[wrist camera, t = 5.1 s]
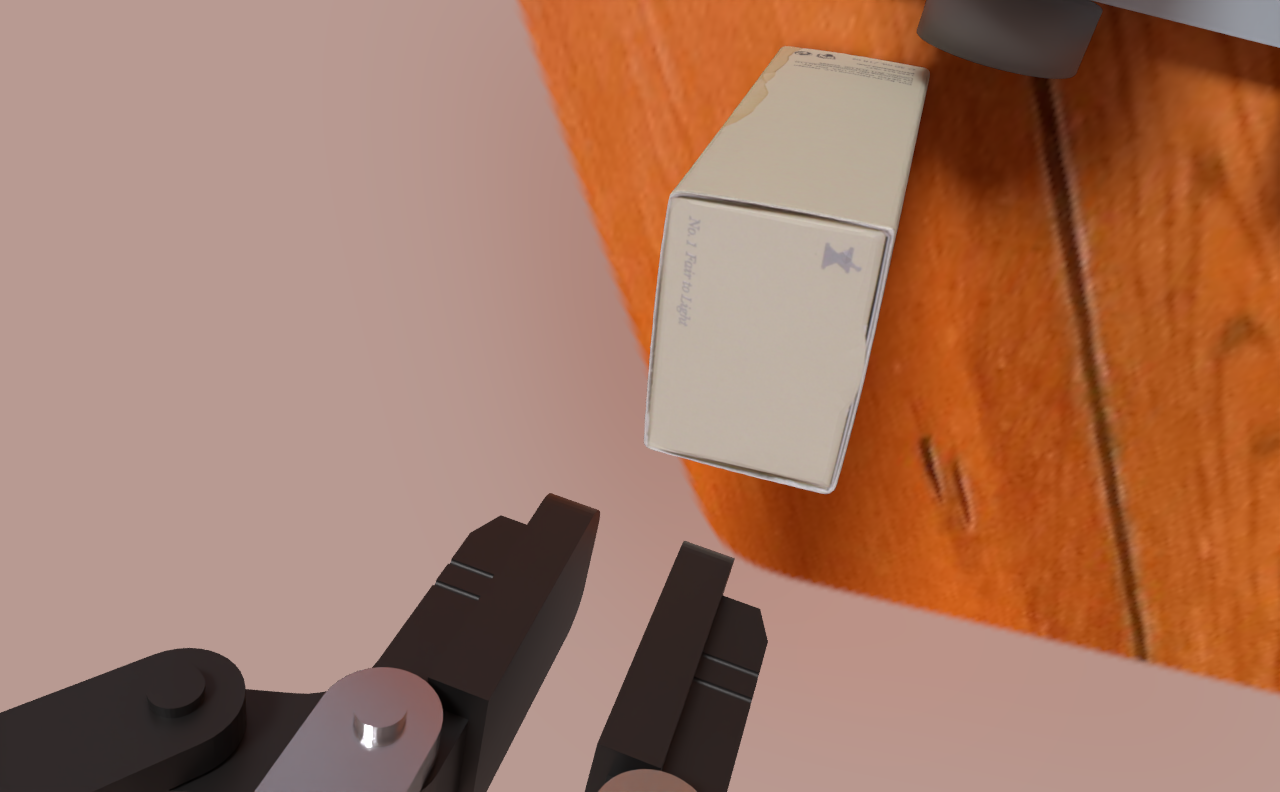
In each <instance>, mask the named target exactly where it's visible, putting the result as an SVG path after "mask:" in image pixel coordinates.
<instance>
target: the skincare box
mask: <svg viewBox="0 0 1280 792" xmlns="http://www.w3.org/2000/svg"><path fill="white" fill-rule="evenodd" d="M929 78H930V72H929V70H928V69H926V68H924V67H917V66H912V65H907V64H901V63H896V62H890V61H884V60H879V59H873V58H867V57H861V56H854V55H849V54H843V53H836V52H829V51H822V50H814V49H805V48H798V47H790V46H784V47H782V48H781V49H780V50H779V51H778V53H777V54H776V55H775V57H774V58H773V59H772V61H771V62H770V63H769V65H768V66H767V68H766V69H765V70H764V71H763V73H762V74H761V76H760V77H759V78H758V80H757V81H756V82H755V84H754V85H753V86H752V88H751V89H750V91H749V92H748V93H747V95H746V96H745V97H744V99H743V100H742V101H741V103H740V104H739V105H738V106H737V108H736V109H735V110H734V112H733V113H732V115H731V116H730V117H729V118H728V120H727V121H726V122H725V124H724V125H723V127H722V128H721V129H720V131H719V132H718V133H717V134H716V136H715V137H714V138H713V140H712V141H711V142H710V144H709V145H708V146H707V147H706V149H705V150H704V151H703V153H702V154H701V156H700V157H699V158H698V159H697V161H696V162H695V163H694V165H693V166H692V167H691V169H690V170H689V172H688V173H687V174H686V175H685V176H684V178H683V179H682V180H681V181H680V183H679V184H678V185H677V187H676V188H675V189H674V190H673V191H672V193H671V194H670V197H669V202H668V207H667V213H666V219H665V225H664V234H663V239H662V245H661V254H660V263H659V270H658V279H657V288H656V297H655V306H654V316H653V328H652V339H651V347H650V361H649V374H648V385H647V401H646V413H645V433H644V444H645V446H646V447H647V448H649V449H652V450H654V451H659V452H662V453H666V454H669V455H673V456H677V457H681V458H685V459H689V460H692V461H695V462H699V463H703V464H707V465H711V466H714V467H718V468H722V469H726V470H729V471H733V472H737V473H742V474H745V475H749V476H752V477H756V478H760V479H764V480H768V481H772V482H777V483H781V484H785V485H789V486H793V487H796V488H800V489H804V490H808V491H813V492H817V493H821V494H828V493H831V492H832V491H834V490H835V488H836V485H837V483H838V479H839V476H840V472H841V468H842V465H843V461H844V458H845V454H846V450H847V446H848V442H849V439H850V435H851V431H852V427H853V423H854V420H855V416H856V412H857V408H858V404H859V400H860V396H861V392H862V388H863V384H864V380H865V375H866V371H867V366H868V362H869V357H870V353H871V348H872V344H873V340H874V335H875V331H876V326H877V322H878V317H879V312H880V308H881V303H882V298H883V294H884V289H885V285H886V280H887V276H888V271H889V267H890V262H891V257H892V253H893V248H894V243H895V239H896V234H897V230H898V225H899V221H900V216H901V211H902V206H903V201H904V197H905V192H906V187H907V182H908V177H909V173H910V168H911V163H912V158H913V153H914V149H915V144H916V139H917V135H918V130H919V125H920V120H921V115H922V110H923V106H924V101H925V97H926V92H927V87H928V83H929Z"/></svg>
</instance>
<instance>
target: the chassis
mask: <svg viewBox="0 0 1280 792" xmlns="http://www.w3.org/2000/svg"><path fill="white" fill-rule="evenodd" d="M1092 1H1096V2H1100V3H1104V4H1107V5H1111V6H1115V7H1119V8H1123V9H1127V10H1131V11H1135V12H1139V13H1143V14H1147V15H1151V16H1155V17H1159V18H1163V19H1167V20H1171V21H1175V22H1179V23H1183V24H1187V25H1191V26H1195V27H1199V28H1203V29H1207V30H1211V31H1215V32H1219V33H1223V34H1227V35H1231V36H1235V37H1239V38H1243V39H1247V40H1251V41H1255V42H1259V43H1263V44H1267V45H1271V46H1275V47H1278V48H1280V0H1092ZM1092 1H1090V0H926V3H925V6H924V10H923V13H922V16H921V19H920V22H919V25H918V28H917V34H918V35H919V36H920V37H921V38H922V39H923V40H924V41H926V42H928V43H929V44H931V45H933V46H935V47H937V48H939V49H941V50H943V51H945V52H948V53H950V54H952V55H955V56H958V57H960V58H963V59H966V60H969V61H972V62H975V63H978V64H981V65H985V66H988V67H992V68H995V69H999V70H1003V71H1007V72H1012V73H1016V74H1022V75H1027V76H1033V77H1041V78H1051V79H1065V78H1071V77H1073V76H1075V75H1076V73H1077V70H1078V68H1079V66H1080V63H1081V61H1082V59H1083V56H1084V54H1085V51H1086V49H1087V47H1088V44H1089V42H1090V40H1091V37H1092V35H1093V33H1094V30H1095V28H1096V25H1097V23H1098V21H1099V18H1100V16H1101V14H1102V8H1101V7H1100V6H1099V5H1097V4H1095V3H1094V2H1092Z"/></svg>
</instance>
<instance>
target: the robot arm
mask: <svg viewBox="0 0 1280 792" xmlns="http://www.w3.org/2000/svg"><path fill="white" fill-rule="evenodd" d="M599 518H600V511H599V510H597V509H594V508H591V507H588V506H585V505H582V504H579V503H577V502H574V501H571V500H568V499H566V498H563V497H560V496H557V495H554V494H552V493H549V494H548V495H547V496H546V497H545V499H544V500H543V501H542V503H541V504H540V506H539V508H538V509H537V511H536V512H535V514H534V515H533V517H532V518H531V520H530V521H529V523H528V524H527V525H526V524H523V523H520V522H518V521H515V520H512V519H509V518H507V517H504V516H499V517H497V518H496V519H494V520H492V521H490V522H489V523H487V524H485V525H483V526H482V527H480V528H478V529H476V530H475V531H473V532H471V533H470V534H469V536H468V537H467V538H466V540H465V541H464V542H463V544H462V545H461V547H460V548H459V550H458V551H457V552H456V554H455V555H454V556H453V558H452V560H451V563H450V564H448V565H447V566H446V567H445V569H444V570H443V572H442V573H441V574H440V576H439V577H438V578H437V580H436V583H435V585H433V586H432V587H431V588H430V590H429V591H428V592H427V594H426V595H425V596H424V598H423V599H422V601H421V602H420V603H419V605H418V607H417V608H416V609H415V610H414V612H413V613H412V615H411V616H410V617H409V619H408V620H407V621H406V623H405V624H404V626H403V627H402V628H401V630H400V631H399V633H398V634H397V635H396V637H395V638H394V639H393V641H392V642H391V644H390V645H389V646H388V648H387V649H386V650H385V652H384V653H383V655H382V656H381V657H380V659H379V660H378V661H377V663H376V664H375V665H374V666H373V667H372V668H368V669H364V670H360V671H357V672H354V673H352V674H349V675H347V676H345V677H344V678H342V679H341V680H339V681H337V682H336V683H335V684H334V685H332V686H331V687H330V688H329V689H328V691H325V692H321V693H311V694H296V693H283V692H272V691H259V690H249V689H245V683H244V678H243V676H242V674H241V672H240V671H239V669H238V668H237V667H236V665H235V664H234V663H232V662H231V661H230V660H229V659H228V658H226V657H224V656H222V655H220V654H218V653H215V652H212V651H209V650H204V649H196V648H183V649H174V650H169V651H164V652H161V653H158V654H154V655H152V656H149V657H146V658H144V659H141V660H138V661H136V662H133V663H130V664H128V665H126V666H123V667H120V668H117V669H115V670H112V671H109V672H107V673H104V674H102V675H99V676H96V677H94V678H91V679H88V680H86V681H83V682H80V683H78V684H75V685H73V686H70V687H67V688H65V689H62V690H59V691H57V692H54V693H51V694H49V695H46V696H43V697H41V698H38V699H36V700H33V701H31V702H28V703H25V704H22V705H20V706H17V707H14V708H12V709H9V710H7V711H4V712H1V713H0V792H487V790H488V788H489V786H490V784H491V782H492V780H493V778H494V776H495V774H496V772H497V770H498V768H499V766H500V764H501V762H502V761H503V758H504V757H505V755H506V753H507V751H508V749H509V747H510V745H511V743H512V741H513V739H514V737H515V735H516V733H517V731H518V729H519V727H520V726H521V724H522V722H523V720H524V718H525V716H526V714H527V712H528V710H529V708H530V706H531V704H532V702H533V700H534V698H535V697H536V695H537V693H538V691H539V689H540V687H541V685H542V683H543V681H544V679H545V677H546V675H547V673H548V671H549V669H550V668H551V666H552V664H553V662H554V660H555V658H556V656H557V654H558V652H559V650H560V648H561V646H562V644H563V642H564V640H565V639H566V637H567V634H568V633H569V630H570V628H571V626H572V623H573V621H574V619H575V616H576V613H577V610H578V608H579V605H580V602H581V598H582V595H583V591H584V587H585V582H586V578H587V573H588V569H589V564H590V560H591V555H592V550H593V547H594V542H595V538H596V533H597V529H598V524H599ZM733 562H734V558H732V557H729V556H726V555H723V554H721V553H718V552H715V551H712V550H709V549H706V548H703V547H701V546H698V545H695V544H692V543H689V542H687V541H684V542H683V544H682V546H681V548H680V551H679V553H678V555H677V557H676V560H675V562H674V565H673V567H672V569H671V572H670V574H669V576H668V579H667V581H666V583H665V586H664V588H663V591H662V593H661V595H660V598H659V600H658V602H657V605H656V607H655V609H654V612H653V614H652V616H651V619H650V621H649V623H648V626H647V628H646V631H645V633H644V635H643V638H642V640H641V642H640V645H639V647H638V649H637V652H636V654H635V657H634V659H633V661H632V664H631V666H630V668H629V671H628V673H627V675H626V678H625V680H624V682H623V685H622V687H621V690H620V692H619V694H618V697H617V699H616V702H615V704H614V706H613V708H612V711H611V713H610V715H609V718H608V720H607V723H606V725H605V727H604V730H603V732H602V734H601V737H600V739H599V741H598V744H597V748H596V751H595V755H594V759H593V763H592V767H591V770H590V774H589V778H588V782H587V785H586V790H585V792H727V789H728V786H729V782H730V779H731V775H732V771H733V768H734V764H735V760H736V757H737V753H738V749H739V746H740V742H741V738H742V735H743V731H744V727H745V724H746V720H747V716H748V712H749V709H750V704H751V701H752V697H753V694H754V691H755V687H756V683H757V678H758V675H759V672H760V668H761V665H762V661H763V657H764V654H765V650H766V646H767V643H768V640H767V636H766V632H765V628H764V624H763V620H762V615H761V611H760V609H758V608H756V607H753V606H750V605H747V604H745V603H742V602H739V601H736V600H734V599H731V598H728V597H725V596H723V593H724V590H725V587H726V584H727V581H728V578H729V575H730V572H731V568H732V565H733Z"/></svg>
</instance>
